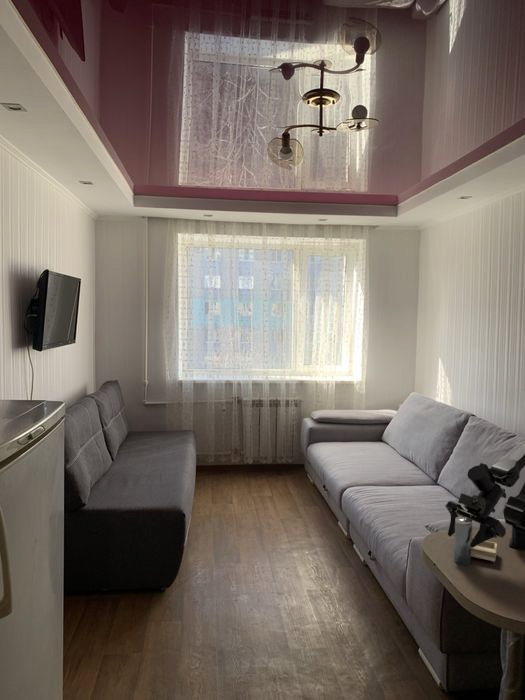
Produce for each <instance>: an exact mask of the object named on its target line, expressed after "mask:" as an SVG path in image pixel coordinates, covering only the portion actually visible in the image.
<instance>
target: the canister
mask: <svg viewBox="0 0 525 700" xmlns="http://www.w3.org/2000/svg"><path fill="white" fill-rule="evenodd" d="M472 531H473V520H471V519H470V518H467V517H456V518H455V533H454V541H453V542H454V543H453V562H454V563H455V564H458V565H461V566H469V565H471V560H472V556H471V546H470V544H471V541H472V538H473V534H472Z"/></svg>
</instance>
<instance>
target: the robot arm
mask: <svg viewBox="0 0 525 700" xmlns="http://www.w3.org/2000/svg"><path fill="white" fill-rule="evenodd" d="M524 468H525V442H523V444H521V445H520V446H519V447H518V448H517V449H516V450H515V451H514V452H513V453H512V454H511V455H510V456H509V457H507V458H506V459H503V460H499V461H498V462H496V463H495V464H493V465H492V466H491V467H490V468H489V466H488V464H486V463H483V462H480V463H479V464H477V465H474V466H472V467H471V468H469V469H468V471H467V474H466V476H467V477H468V479H469V481H470V482H471V483H472V484H473V486H474V487H475V488H476V490H477V491H479V493H478V494H477V495H476V494H473V495H472V496H471V495H467V494H465V493H462V492H461V493H460V495H459V498H458V500H457V502H455V501H453V500H449V501H448V502H447V503H446V504H445V506H444V507H445V508H446V509H447V511H448V513H449V514H450V522H449V528H448V530H447V535H448V537H452V536H453V535H455V518H456V517H467V518H470V519H471V520H472V522H474V523H478V524H479V529H478V531H477V532H476V534H475V535H474V537H473V538H474V539H473V540H472V542H471V544H470V546H471V547H475V546H477V545H478V544H480V543H482V542H484V541H488V540H491V539H494V538H495V539H497V538H498V537H499V538H501V539H503V538H504V537H505V536H506V532H507V531H506V527H505V526H504V525H503V524H502V522H501V521H500V520H499V519H496V518H494V517H492V516H490V515H491V513H492V514H495V513H496V509H495V507H496V506H497V504H498V503H499V501H500V500H501V498H503V499H507V493H506V489H505V488H503V487H506V488H511V487H513V486H515V484H516V483H517V482H518V480H519V479H520V474H521V472H522V469H524ZM501 486H503V487H501ZM462 505H463V507H464V508H465V509H464V508H463V507H462ZM503 518H504V523H505V524H506V525H509V526H511V529H510V531H511V533H510V538H509V543H508V546H509V548H515V549H519V550H525V482H524V483H523V485H522V487H521V489H520V491H519V493H518V494H517V495H516V496H513V495H509V497H508V499H507V501H506V503H505V504H504V508H503Z"/></svg>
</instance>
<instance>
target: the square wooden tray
mask: <svg viewBox="0 0 525 700" xmlns="http://www.w3.org/2000/svg"><path fill="white" fill-rule="evenodd" d="M473 539H474V537H472V540H473ZM471 542H472V541H471ZM497 552H498V542H493V541H488V540H486V541H484V542H482V543H480V544H478V545H477V546H475V547H471V558H477V559H482V560H486V561H490V563H491V564H495V562H496V558H497V554H498V553H497Z"/></svg>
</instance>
